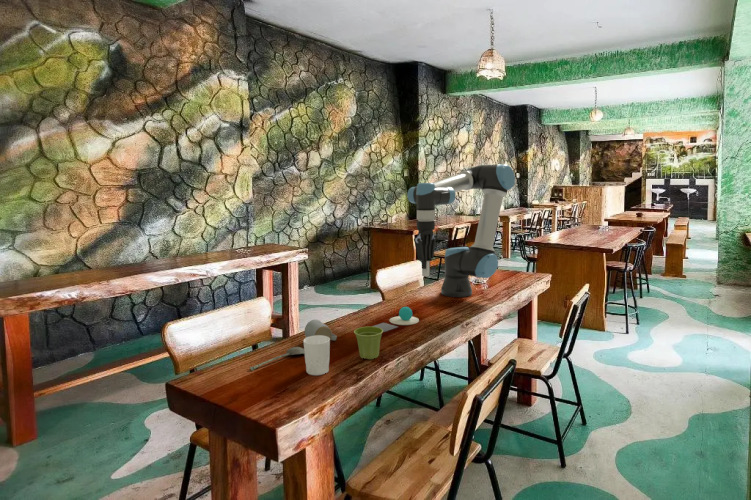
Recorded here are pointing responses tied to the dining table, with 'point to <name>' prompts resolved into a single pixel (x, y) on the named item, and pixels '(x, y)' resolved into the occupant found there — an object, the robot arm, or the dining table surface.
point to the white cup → (317, 354)
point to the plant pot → (368, 341)
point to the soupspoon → (289, 352)
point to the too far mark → (385, 326)
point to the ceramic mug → (318, 329)
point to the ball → (405, 313)
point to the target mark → (404, 321)
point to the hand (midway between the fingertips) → (425, 275)
